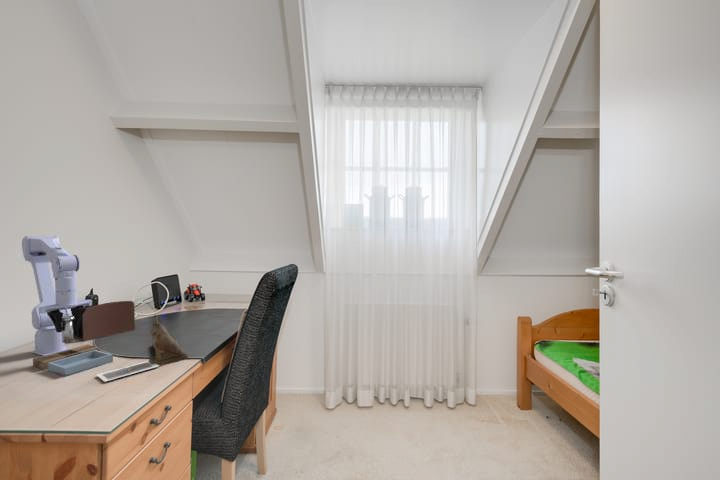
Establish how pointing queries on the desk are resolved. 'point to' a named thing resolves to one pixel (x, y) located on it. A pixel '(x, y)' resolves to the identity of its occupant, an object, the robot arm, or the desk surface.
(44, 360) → the brown flat block
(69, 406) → the desk surface
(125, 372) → the touchpad
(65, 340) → the steel pin
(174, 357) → the brown carved statuette
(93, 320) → the letter holder
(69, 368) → the tray
